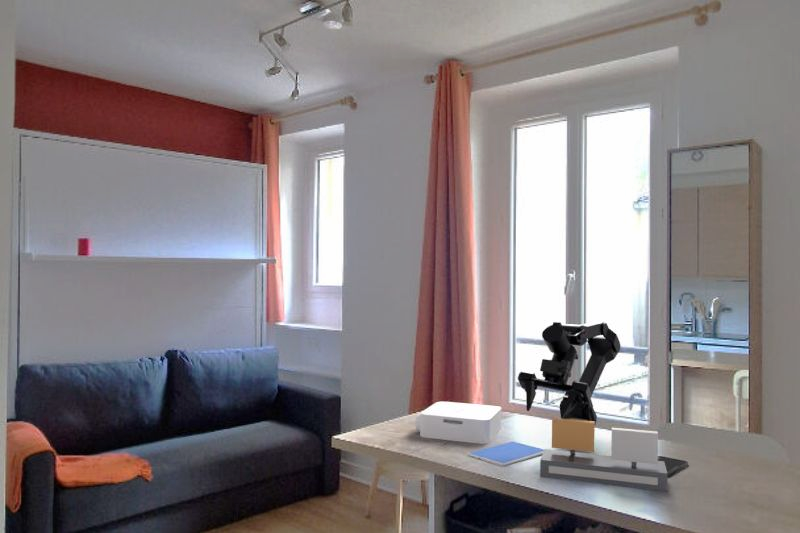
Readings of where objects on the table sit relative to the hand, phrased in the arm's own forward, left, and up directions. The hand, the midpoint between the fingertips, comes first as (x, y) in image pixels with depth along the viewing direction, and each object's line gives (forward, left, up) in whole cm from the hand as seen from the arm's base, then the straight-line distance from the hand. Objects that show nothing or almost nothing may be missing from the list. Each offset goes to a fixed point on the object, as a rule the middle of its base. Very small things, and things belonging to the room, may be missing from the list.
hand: (544, 414), depth 166 cm
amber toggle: (+1, +10, -8) cm, 12 cm away
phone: (-20, +22, -13) cm, 32 cm away
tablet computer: (+2, -10, -13) cm, 16 cm away
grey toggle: (-1, +24, -8) cm, 25 cm away
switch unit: (0, +17, -12) cm, 21 cm away
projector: (-5, -34, -13) cm, 36 cm away
